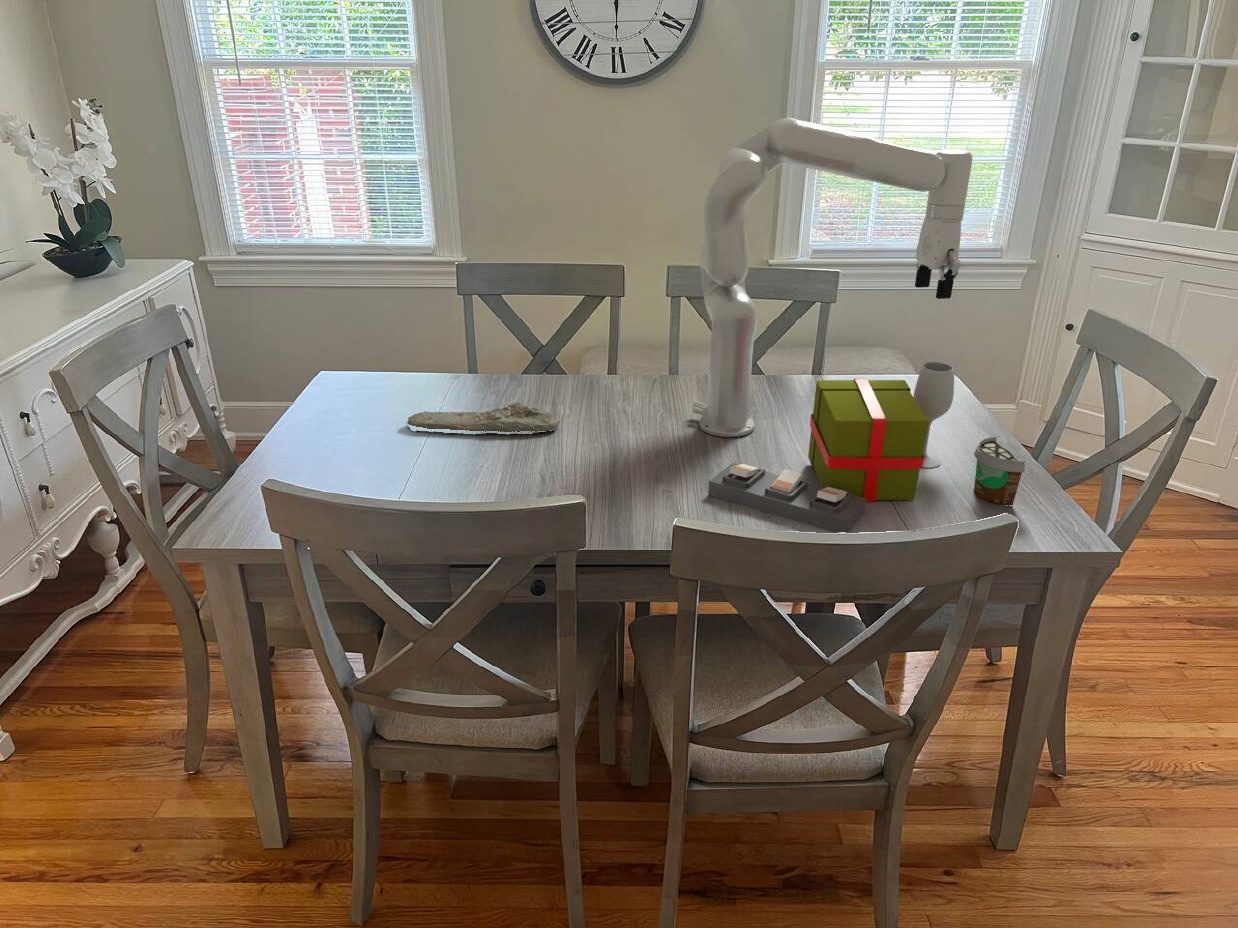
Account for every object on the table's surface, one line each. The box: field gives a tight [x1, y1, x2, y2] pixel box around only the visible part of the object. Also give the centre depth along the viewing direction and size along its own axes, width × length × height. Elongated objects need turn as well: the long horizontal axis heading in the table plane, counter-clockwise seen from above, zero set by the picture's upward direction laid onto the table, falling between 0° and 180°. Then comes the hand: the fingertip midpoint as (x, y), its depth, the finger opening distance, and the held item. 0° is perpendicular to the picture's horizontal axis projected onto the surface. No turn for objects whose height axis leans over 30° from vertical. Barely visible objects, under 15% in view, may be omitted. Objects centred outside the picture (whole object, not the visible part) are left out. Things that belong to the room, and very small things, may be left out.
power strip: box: [708, 462, 867, 533], centre depth 169 cm, size 28×10×4 cm, turn 56°
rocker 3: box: [817, 487, 847, 502], centre depth 163 cm, size 4×6×1 cm, turn 146°
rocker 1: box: [729, 463, 760, 477], centre depth 172 cm, size 4×6×1 cm, turn 146°
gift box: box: [807, 377, 929, 503], centre depth 176 cm, size 21×21×25 cm
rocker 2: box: [772, 468, 803, 494], centre depth 167 cm, size 4×6×1 cm, turn 146°
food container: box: [973, 436, 1026, 507], centre depth 170 cm, size 12×6×10 cm, turn 5°
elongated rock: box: [406, 401, 560, 432], centre depth 202 cm, size 35×5×10 cm
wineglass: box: [913, 361, 955, 469], centre depth 182 cm, size 8×8×21 cm
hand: (932, 292), depth 193 cm, fingers open, 9 cm apart
